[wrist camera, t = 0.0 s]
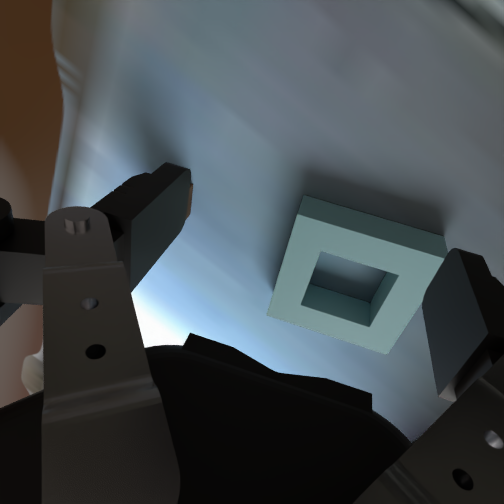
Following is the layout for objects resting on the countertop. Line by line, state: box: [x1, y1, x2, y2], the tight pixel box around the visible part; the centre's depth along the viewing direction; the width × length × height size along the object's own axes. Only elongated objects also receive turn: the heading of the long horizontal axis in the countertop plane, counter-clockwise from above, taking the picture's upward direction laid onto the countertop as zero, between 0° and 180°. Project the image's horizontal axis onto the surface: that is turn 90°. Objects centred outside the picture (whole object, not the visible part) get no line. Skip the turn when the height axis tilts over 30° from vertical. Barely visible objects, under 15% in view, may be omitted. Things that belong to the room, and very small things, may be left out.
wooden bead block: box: [267, 195, 448, 355], centre depth 32 cm, size 11×11×3 cm
